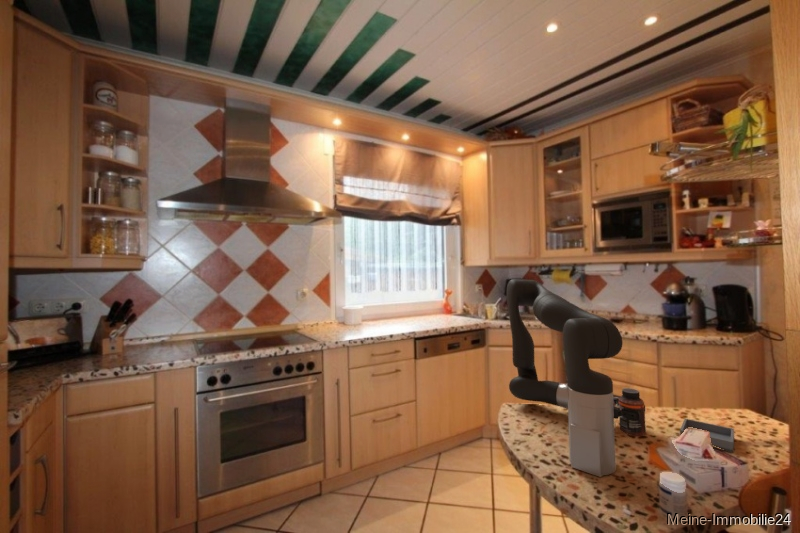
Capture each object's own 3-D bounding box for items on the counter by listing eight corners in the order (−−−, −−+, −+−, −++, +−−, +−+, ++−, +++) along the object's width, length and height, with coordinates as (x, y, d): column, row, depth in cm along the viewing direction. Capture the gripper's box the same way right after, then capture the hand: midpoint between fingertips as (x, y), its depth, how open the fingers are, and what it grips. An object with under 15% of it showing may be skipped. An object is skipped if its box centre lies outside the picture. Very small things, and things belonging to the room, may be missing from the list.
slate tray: (733, 452, 85) (733, 442, 85) (680, 439, 92) (680, 430, 92) (734, 438, 92) (733, 428, 92) (685, 427, 99) (684, 418, 99)
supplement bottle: (637, 427, 99) (636, 387, 99) (650, 437, 93) (649, 394, 93) (615, 427, 100) (614, 386, 100) (626, 436, 94) (625, 393, 94)
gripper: (567, 391, 101) (636, 405, 90) (583, 379, 112) (647, 391, 100) (567, 417, 101) (637, 435, 89) (584, 403, 112) (648, 418, 100)
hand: (642, 412), depth 95 cm, fingers closed on supplement bottle, 6 cm apart
